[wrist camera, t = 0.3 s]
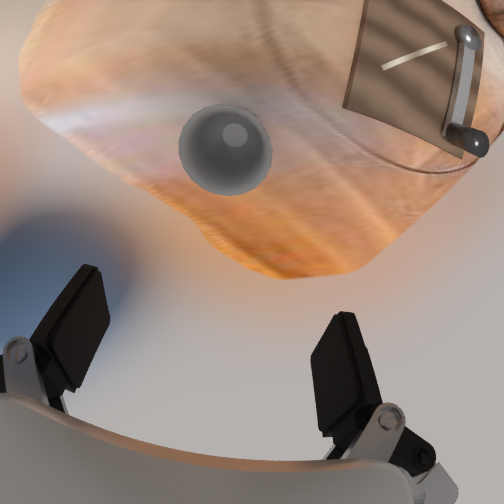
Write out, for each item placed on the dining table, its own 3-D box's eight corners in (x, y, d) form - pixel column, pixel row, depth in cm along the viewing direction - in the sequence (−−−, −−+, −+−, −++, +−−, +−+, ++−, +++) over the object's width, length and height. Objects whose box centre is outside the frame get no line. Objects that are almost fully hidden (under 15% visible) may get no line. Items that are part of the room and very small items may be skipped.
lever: (456, 21, 18) (487, 16, 12) (475, 35, 19) (506, 34, 12) (435, 137, 30) (468, 150, 23) (454, 147, 30) (486, 162, 24)
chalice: (277, 132, 34) (291, 162, 19) (238, 160, 37) (221, 212, 22) (243, 91, 31) (228, 85, 16) (205, 122, 34) (160, 145, 19)
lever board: (369, -32, 18) (374, -37, 16) (477, 33, 20) (485, 32, 18) (342, 107, 32) (347, 108, 30) (454, 156, 33) (462, 159, 32)
